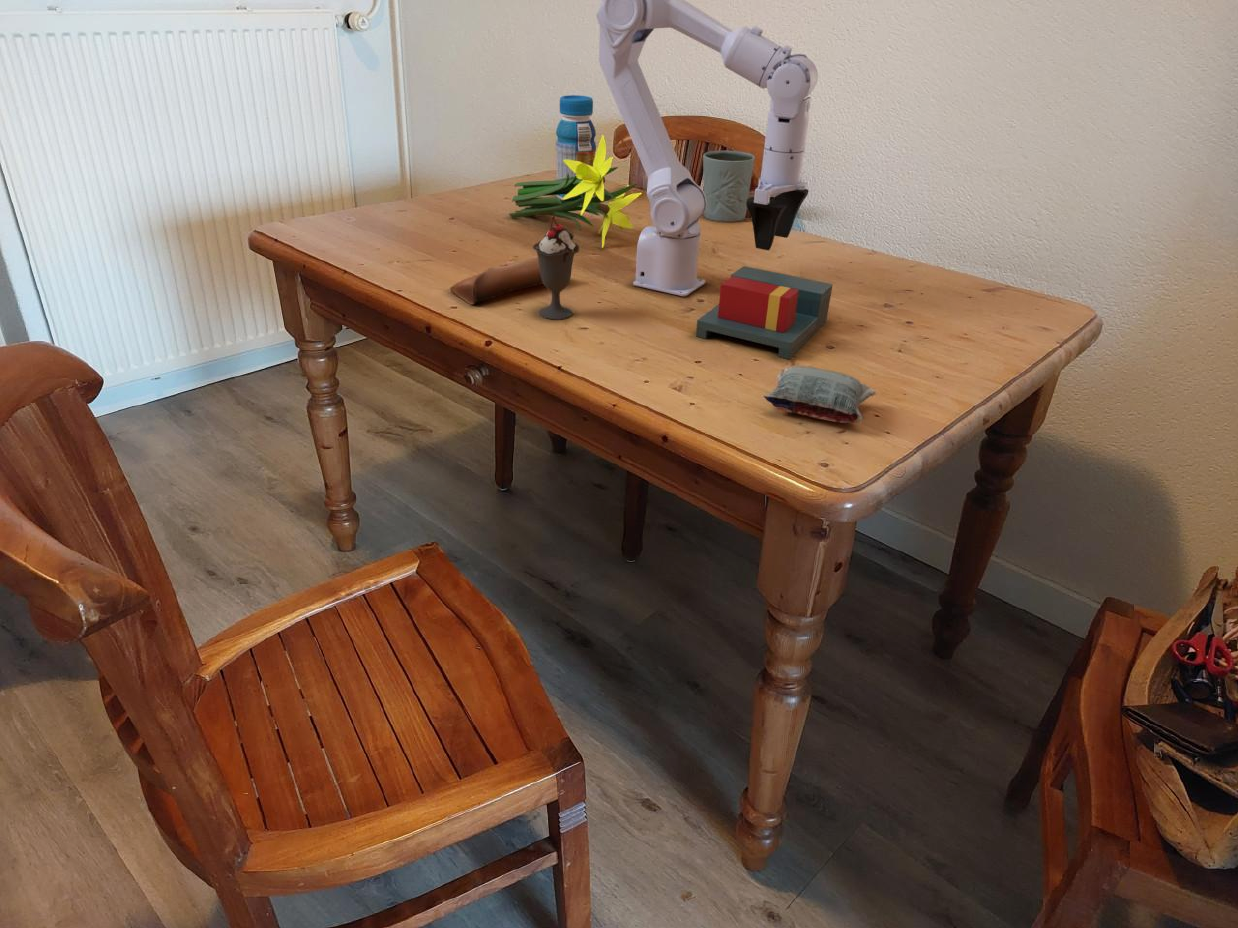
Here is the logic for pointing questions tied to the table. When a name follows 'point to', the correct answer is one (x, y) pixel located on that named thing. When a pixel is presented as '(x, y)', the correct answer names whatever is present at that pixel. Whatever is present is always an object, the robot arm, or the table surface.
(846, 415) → the packaged food
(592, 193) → the daffodil flowers
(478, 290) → the sunglasses case
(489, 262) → the table surface
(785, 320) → the candy bar
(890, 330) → the table surface
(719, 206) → the sage green ceramic cup
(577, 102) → the beverage bottle
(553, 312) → the sundae
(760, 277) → the shelf rack
